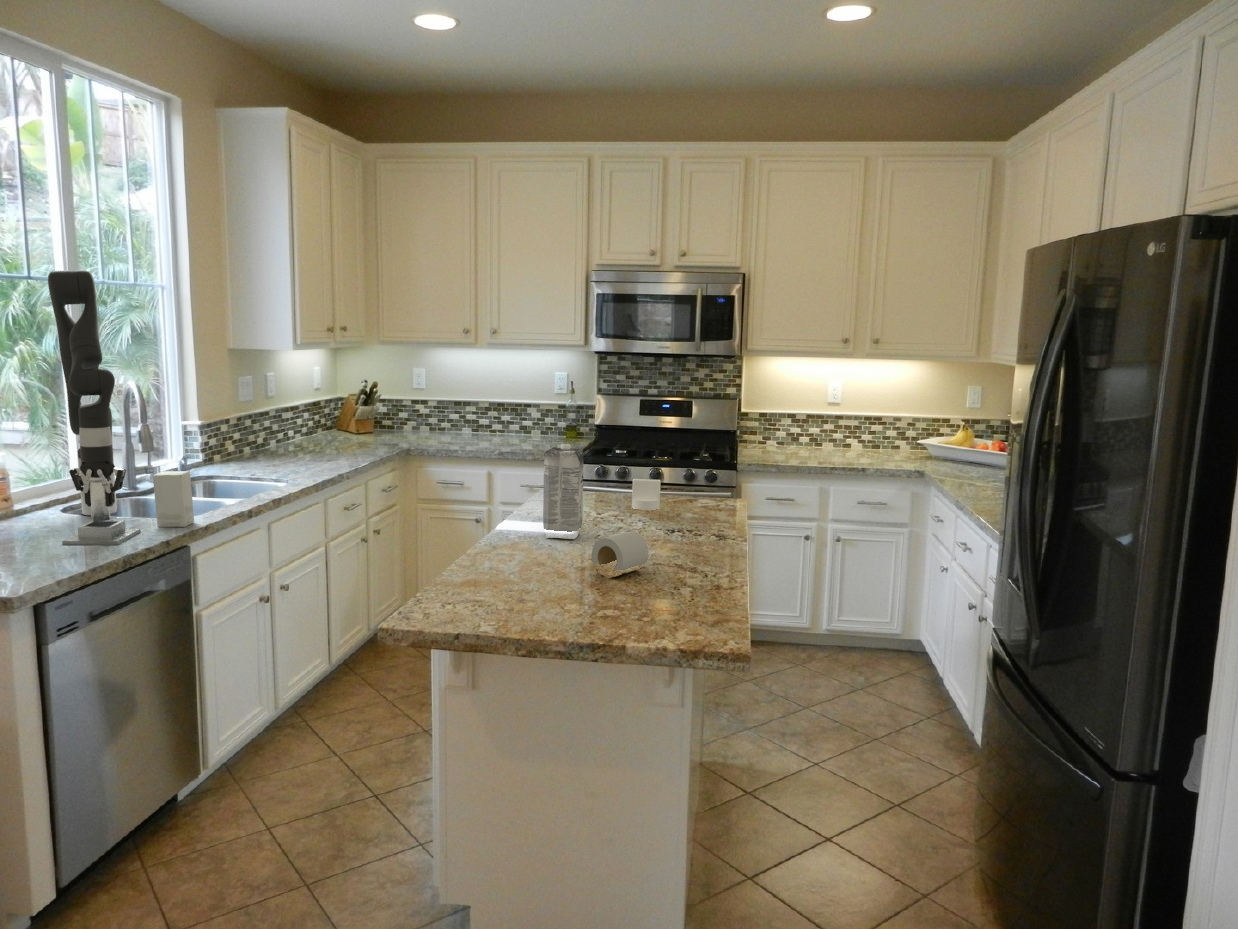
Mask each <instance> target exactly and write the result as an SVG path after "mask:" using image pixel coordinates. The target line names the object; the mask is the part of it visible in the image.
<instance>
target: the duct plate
mask: <svg viewBox="0 0 1238 929" xmlns="http://www.w3.org/2000/svg"><path fill="white" fill-rule="evenodd" d="M139 534H141V528H126V520H111V519H110V520H107V521H99V522H96V521H92V520H90V521H88V522H86V523H84V524H82V525H80V526H78V527H77V533H75V534H73V535H72V536H69V537H67V538H66V539H63V540H62V541H61V544H62V546H63V545H65V546H69V545H71V546H75V545H77V546H78V545H79V546H81V545H83V546H85V545H86V546H88V545H89V546H90V545H91V546H93V545H94V546H95V545H97V546H98V545H101V546H105V545H107V546H109V545H110V546H113V545H114V546H115V545H120V544H122V543H124V542H126V541H127V540H129V539H132V538H133V537H135V536H137V535H139Z"/></svg>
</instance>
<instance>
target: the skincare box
mask: <svg viewBox="0 0 1238 929" xmlns="http://www.w3.org/2000/svg"><path fill="white" fill-rule="evenodd" d="M152 481H153V491H154V492H153V493H154V503H155V513H156V515H155V516H156V523H157V527H158V528H180V527H181V528H185V527H188V526H190V525H191V524H193V523H194V522H195V515H194V503H193V495H192V493H193V492H192V482H191V481H192V480H191V471H190V470H189V471H188V470H187V471H186V470H185V471H184V470H183V471H180V470H178V471H176V470H175V471H174V470H173V471H171V470H170V471H169V470H168V471H167V470H166V471H165V470H164V471H163V470H162V471H160V472H157V473H155V474H153V475H152Z"/></svg>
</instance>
